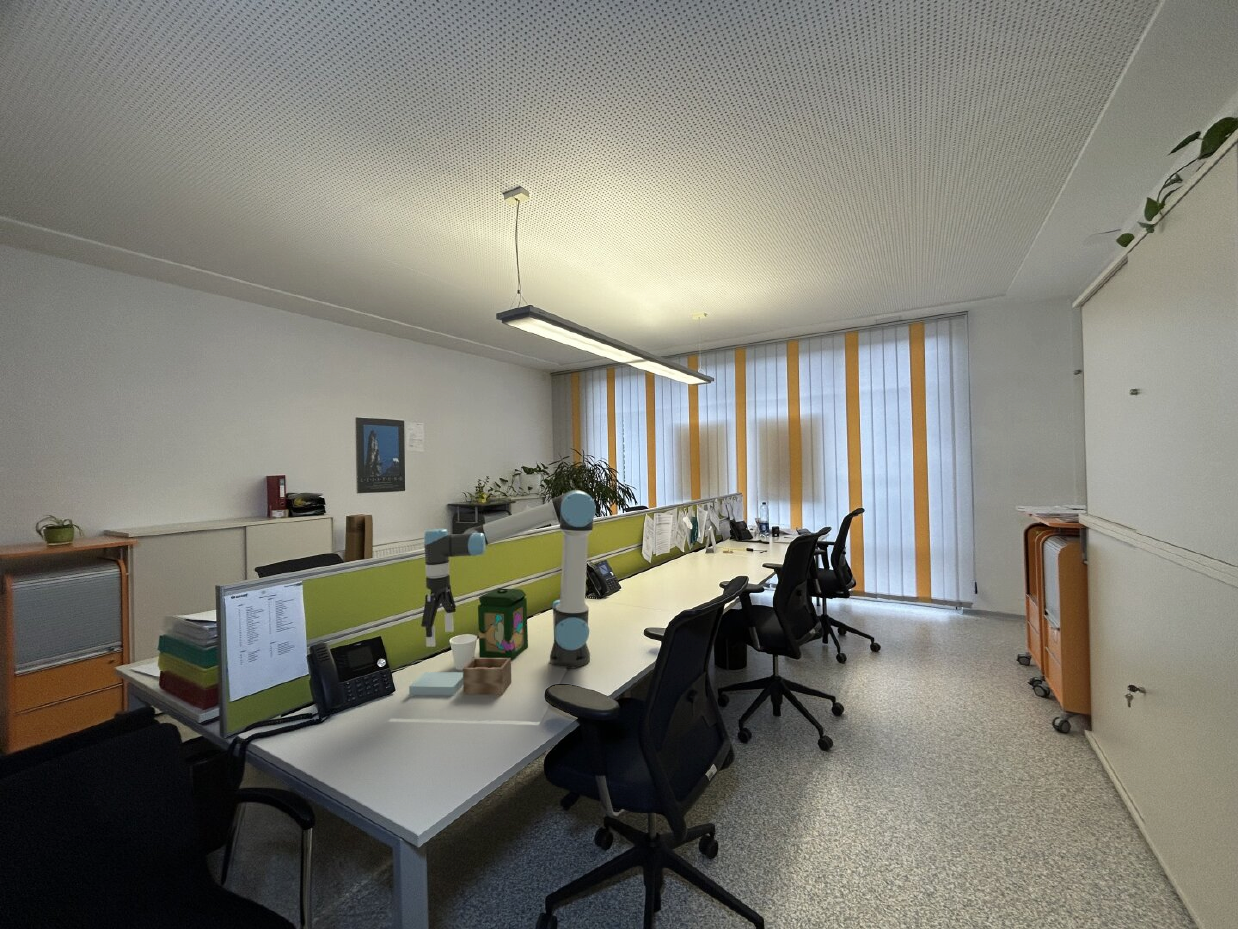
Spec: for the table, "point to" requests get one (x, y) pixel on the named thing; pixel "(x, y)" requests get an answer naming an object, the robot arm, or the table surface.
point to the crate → (487, 676)
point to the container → (502, 623)
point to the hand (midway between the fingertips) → (440, 638)
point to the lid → (437, 684)
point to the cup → (463, 649)
